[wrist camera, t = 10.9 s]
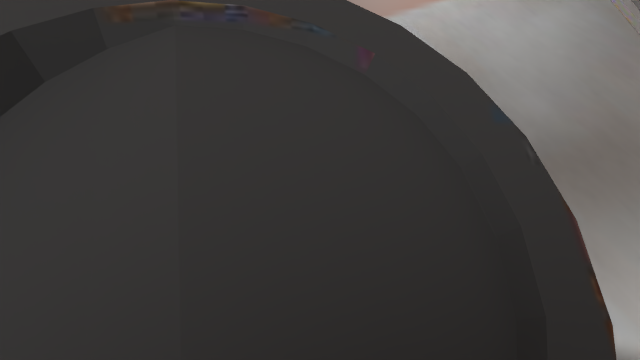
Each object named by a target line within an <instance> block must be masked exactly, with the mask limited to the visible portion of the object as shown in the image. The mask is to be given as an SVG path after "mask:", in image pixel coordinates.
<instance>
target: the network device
mask: <svg viewBox="0 0 640 360" xmlns="http://www.w3.org/2000/svg"><path fill="white" fill-rule="evenodd" d="M611 1H612V2H613V3H614V5H615V6H616V7H617V8H618V9H619V10H620V12H621V13H622V14H623V15H624V16H625V18H626V19H627V20H628V21H629V22H630V23H631V25H632V26H633V27H634V28H635V29H636V31H637V32H638V33H639V34H640V10H639V9H638V8H637V6H636V5H635V4H634V3H633V2H632V1H631V0H611Z"/></svg>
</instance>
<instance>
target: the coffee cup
mask: <svg viewBox="0 0 640 360" xmlns="http://www.w3.org/2000/svg"><path fill="white" fill-rule="evenodd" d="M0 360H616V352H615V343H614V334H613V326H612V322H611V319H610V316H609V314H608V311H607V308H606V305H605V302H604V299H603V296H602V293H601V290H600V287H599V285H598V282H597V279H596V276H595V273H594V270H593V267H592V264H591V261H590V258H589V255H588V253H587V250H586V247H585V244H584V241H583V238H582V235H581V232H580V229H579V226H578V224H577V221H576V218H575V217H574V215H573V213H572V212H571V210H570V208H569V207H568V205H567V204H566V202H565V200H564V199H563V197H562V195H561V194H560V192H559V190H558V189H557V187H556V185H555V184H554V182H553V180H552V179H551V177H550V175H549V174H548V172H547V170H546V169H545V167H544V166H543V164H542V162H541V161H540V159H539V157H538V156H537V154H536V152H535V151H534V149H533V147H532V146H531V144H530V142H529V141H528V139H527V137H526V136H525V135H524V134H523V133H522V132H521V131H520V130H519V129H518V127H517V126H516V125H515V124H514V123H513V122H512V121H511V120H510V119H509V118H508V117H507V116H506V115H505V114H504V112H503V111H502V110H501V109H500V108H499V107H498V106H497V105H496V104H495V103H494V102H493V101H492V100H491V98H490V97H489V96H488V95H487V94H486V93H485V92H484V91H483V90H482V89H481V88H480V87H479V86H478V85H477V83H476V82H475V81H474V80H473V79H472V78H471V77H470V76H469V75H468V74H467V73H466V72H465V71H463V70H462V69H461V68H459V67H458V66H456V65H455V64H454V63H452V62H451V61H449V60H448V59H447V58H445V57H444V56H442V55H441V54H440V53H438V52H437V51H435V50H434V49H433V48H431V47H430V46H429V45H427V44H426V43H424V42H423V41H422V40H420V39H419V38H417V37H416V36H415V35H413V34H412V33H410V32H409V31H408V30H406V29H405V28H404V27H402V26H401V25H398V24H396V23H394V22H392V21H390V20H388V19H386V18H383V17H381V16H379V15H377V14H375V13H372V12H370V11H368V10H366V9H364V8H362V7H360V6H358V5H355V4H353V3H351V2H349V1H347V0H0Z"/></svg>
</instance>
